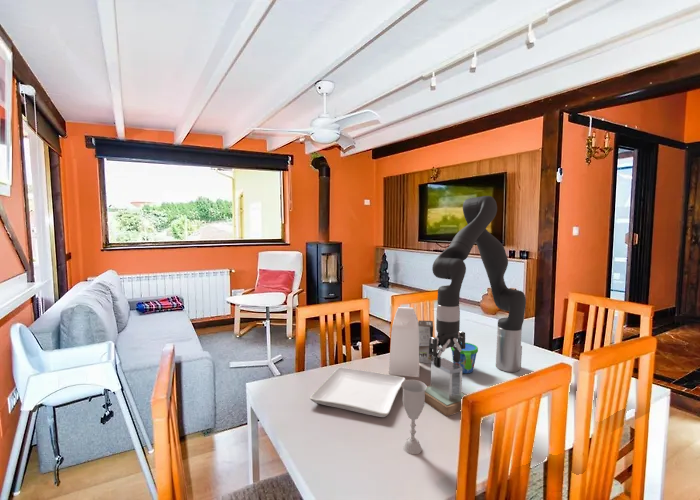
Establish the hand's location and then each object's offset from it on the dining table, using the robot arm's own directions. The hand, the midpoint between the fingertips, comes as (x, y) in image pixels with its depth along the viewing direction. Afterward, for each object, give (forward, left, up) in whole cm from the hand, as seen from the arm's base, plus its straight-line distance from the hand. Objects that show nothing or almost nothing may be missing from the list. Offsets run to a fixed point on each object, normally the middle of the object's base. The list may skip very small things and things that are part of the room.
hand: (447, 364), depth 128 cm
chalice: (+26, +14, -14) cm, 33 cm away
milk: (-4, -28, -14) cm, 32 cm away
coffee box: (-19, -33, -14) cm, 41 cm away
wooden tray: (0, 0, -14) cm, 14 cm away
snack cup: (-25, -16, -14) cm, 33 cm away
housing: (0, 0, -10) cm, 10 cm away
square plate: (+23, -18, -14) cm, 33 cm away
